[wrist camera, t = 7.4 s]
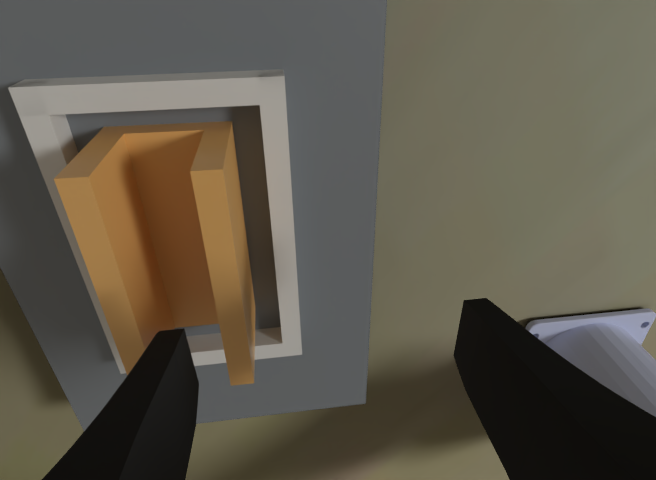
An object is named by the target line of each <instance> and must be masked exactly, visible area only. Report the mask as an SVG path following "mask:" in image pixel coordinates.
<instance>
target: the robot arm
mask: <svg viewBox="0 0 656 480" xmlns="http://www.w3.org/2000/svg"><path fill="white" fill-rule="evenodd" d="M655 317H656V314H655V312H653V311H652V310H651V309H648V308H647V309H637V310H627V311H617V312H608V313H598V314H588V315H579V316H569V317H559V318H550V319H540V320H533V321H531V322H529V323H528V324H527V326H526V328H524V327H523V326H521V325H520V324H519V323H517V322H516V321H515V320H514V319H512V318H511V317H510V316H509V315H507V314H506V313H505V312H504V311H502V310H501V309H500V308H499V307H497V306H496V305H495V304H493V303H492V302H491V301H489V300H488V299H487V298H482V299H472V300H464V302H463V308H462V313H461V318H460V324H459V329H458V334H457V340H456V345H455V350H454V358H455V361H456V364H457V367H458V370H459V373H460V376H461V379H462V381H463V384H464V387H465V390H466V392H467V394H468V396H469V398H470V400H471V402H472V404H473V406H474V408H475V410H476V413H477V415H478V417H479V419H480V421H481V423H482V425H483V427H484V429H485V431H486V433H487V435H488V437H489V439H490V441H491V443H492V445H493V447H494V449H495V451H496V452H497V454H498V456H499V458H500V460H501V462H502V464H503V466H504V468H505V470H506V473H507V475H508V477H509V479H510V480H656V360H655V359H654V358H653V357H652V356H651V355H650V354H649V353H648V352H647V351H646V350H645V349H644V348H643V347H642V346H641V344H642V342H643V340H644V338H645V337H646V335H647V333H648V331H649V329H650V327H651V325H652V323H653V321H654V319H655ZM198 393H199V381H198V378H197V374H196V370H195V366H194V363H193V359H192V355H191V352H190V348H189V344H188V340H187V337H186V333H185V329H184V328H183V329H173V330H163V331H159V332H158V333H157V334H156V335H155V336H154V338H153V339H152V341H151V342H150V344H149V345H148V347H147V348H146V350H145V351H144V352H143V354H142V355H141V357H140V358H139V360H138V361H137V363H136V364H135V365H134V367H133V368H132V370H131V371H130V373H129V374H128V375H127V377H126V378H125V380H124V381H123V382H122V384H121V385H120V386H119V388H118V389H117V390H116V392H115V393H114V394H113V396H112V397H111V398H110V400H109V401H108V402H107V404H106V405H105V406H104V408H103V409H102V410H101V412H100V413H99V414H98V415H97V416H96V418H95V419H94V420H93V421H92V423H91V424H90V425H89V426H88V427H87V429H86V430H85V431H84V432H83V434H82V435H81V436H80V437H79V439H78V440H77V441H76V442H75V443H74V444H73V446H72V447H71V448H70V449H69V450H68V451H67V453H66V454H65V455H64V456H63V457H62V458H61V459H60V460H59V462H58V463H57V464H56V465H55V466H54V467H53V468H52V469H51V470H50V471H49V472H48V474H47V475H46V476H45V477H44V478H43V479H42V480H185V478H186V473H187V468H188V463H189V458H190V453H191V447H192V442H193V437H194V432H195V427H196V419H197V407H198Z"/></svg>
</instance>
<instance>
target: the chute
mask: <svg viewBox="0 0 656 480" xmlns="http://www.w3.org/2000/svg"><path fill="white" fill-rule="evenodd" d="M54 181H55V184H56V186H57V189H58V192H59V194H60V197H61V200H62V202H63V205H64V208H65V210H66V213H67V216H68V218H69V221H70V224H71V226H72V229H73V232H74V234H75V237H76V240H77V242H78V245H79V248H80V251H81V253H82V256H83V259H84V261H85V264H86V267H87V269H88V272H89V275H90V277H91V280H92V283H93V285H94V288H95V291H96V293H97V296H98V299H99V301H100V304H101V307H102V309H103V312H104V315H105V317H106V320H107V323H108V325H109V328H110V331H111V333H112V336H113V339H114V341H115V344H116V347H117V349H118V352H119V355H120V357H121V360H122V363H123V366H124V368H125V371H126V374H127V375H128V374H129V373H130V371H131V370H132V368H133V367H134V365H135V364H136V363H137V361H138V360H139V358H140V357H141V355H142V354H143V352H144V351H145V350H146V348H147V347H148V345H149V344H150V342H151V341H152V339H153V338H154V336H155V335H156V334H157V333H158V332H159V331H163V330H173V329H175V328H178V327H188V326H199V325H210V324H219V326H220V332H221V337H222V342H223V347H224V353H225V358H226V363H227V368H228V374H229V379H230V384H231V386H233V385H243V384H252V383H254V362H255V300H254V292H253V284H252V276H251V268H250V260H249V252H248V244H247V236H246V228H245V220H244V212H243V204H242V196H241V188H240V181H239V173H238V165H237V157H236V149H235V141H234V133H233V125H232V121H222V122H199V123H177V124H155V125H133V126H111V127H103V128H102V129H101V131H100V132H99V133H98V134H97V135H96V136H95V137H94V138H93V139H92V140H91V141H90V142H89V143H88V144H87V145H86V146H85V147H84V148H83V149H82V150H81V151H80V152H79V153H78V154H77V155H76V156H75V157H74V158H73V159H72V160H71V161H70V163H69V164H68V165H67V166H66V167H65V168H64V169H63V170H62V171H61V172H60V173H59V174H58V175H57V176H56V177H55V178H54Z"/></svg>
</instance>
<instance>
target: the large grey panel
mask: <svg viewBox="0 0 656 480" xmlns="http://www.w3.org/2000/svg"><path fill="white" fill-rule="evenodd" d="M386 8H387V0H0V268H1V270H2V272H3V274H4V276H5V278H6V280H7V282H8V284H9V286H10V287H11V289H12V291H13V293H14V295H15V297H16V299H17V301H18V303H19V305H20V307H21V309H22V311H23V313H24V315H25V317H26V319H27V321H28V323H29V325H30V326H31V328H32V330H33V332H34V334H35V336H36V338H37V340H38V342H39V344H40V346H41V348H42V350H43V352H44V354H45V356H46V358H47V360H48V362H49V363H50V365H51V367H52V369H53V371H54V373H55V375H56V377H57V379H58V381H59V383H60V385H61V387H62V389H63V391H64V393H65V395H66V397H67V399H68V401H69V402H70V404H71V406H72V408H73V410H74V412H75V414H76V416H77V418H78V420H79V422H80V424H81V426H82V428H83V430H84V431H85V430H86V429H87V427H88V426H89V425H90V424H91V423H92V421H93V420H94V419H95V418H96V416H97V415H98V414H99V413H100V412H101V410H102V409H103V408H104V406H105V405H106V404H107V402H108V401H109V400H110V398H111V397H112V396H113V394H114V393H115V392H116V390H117V389H118V388H119V386H120V385H121V384H122V382H123V381H124V380H125V378H126V377H127V374H126V371H125V368H124V366H123V363H122V360H121V357H120V355H119V352H118V349H117V347H116V344H115V341H114V339H113V336H112V333H111V331H110V328H109V325H108V323H107V320H106V317H105V315H104V312H103V309H102V307H101V304H100V301H99V299H98V296H97V293H96V291H95V288H94V285H93V283H92V280H91V277H90V275H89V272H88V269H87V267H86V264H85V261H84V259H83V256H82V253H81V251H80V248H79V245H78V242H77V240H76V237H75V234H74V232H73V229H72V226H71V224H70V221H69V218H68V216H67V213H66V210H65V208H64V205H63V202H62V200H61V197H60V194H59V192H58V189H57V186H56V184H55V181H54V178H55V177H56V176H57V175H58V174H59V173H60V172H61V171H62V170H63V169H64V168H65V167H66V166H67V165H68V164H69V163H70V161H71V160H72V159H73V158H74V157H75V156H76V155H77V154H78V153H79V152H80V151H81V150H82V149H83V148H84V147H85V146H86V145H87V144H88V143H89V142H90V141H91V140H92V139H93V138H94V137H95V136H96V135H97V134H98V133H99V132H100V131H101V129H102V128H103V127H111V126H133V125H155V124H177V123H199V122H222V121H232V125H233V133H234V141H235V149H236V157H237V165H238V173H239V181H240V188H241V196H242V204H243V212H244V220H245V228H246V236H247V244H248V252H249V260H250V268H251V276H252V284H253V292H254V300H255V362H254V383H252V384H243V385H233V386H231V384H230V379H229V374H228V368H227V363H226V358H225V353H224V347H223V342H222V337H221V332H220V326H219V324H210V325H199V326H188V327H178V328H175V329H183V328H184V329H185V333H186V337H187V340H188V344H189V348H190V352H191V355H192V359H193V363H194V366H195V370H196V374H197V378H198V381H199V393H198V407H197V419H196V424H198V423H206V422H214V421H223V420H231V419H240V418H248V417H256V416H265V415H273V414H282V413H290V412H299V411H307V410H315V409H324V408H332V407H341V406H349V405H358V404H366V390H367V371H368V352H369V333H370V314H371V295H372V276H373V257H374V238H375V218H376V199H377V180H378V161H379V142H380V123H381V104H382V85H383V66H384V46H385V27H386Z"/></svg>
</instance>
